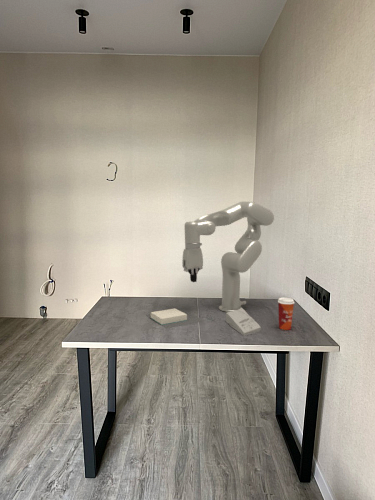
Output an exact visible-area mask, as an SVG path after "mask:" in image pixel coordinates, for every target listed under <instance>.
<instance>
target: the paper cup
mask: <svg viewBox="0 0 375 500" xmlns="http://www.w3.org/2000/svg"><path fill="white" fill-rule="evenodd" d="M277 303H278V304H277V305H278V307H277V308H278V328H279V329H280V330H282V329H283V330H284V331H289V330H290V331H291V329H292V323H293V314H294V306H295V301H294V299H293V298H290V297H279V298H278V300H277Z"/></svg>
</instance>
